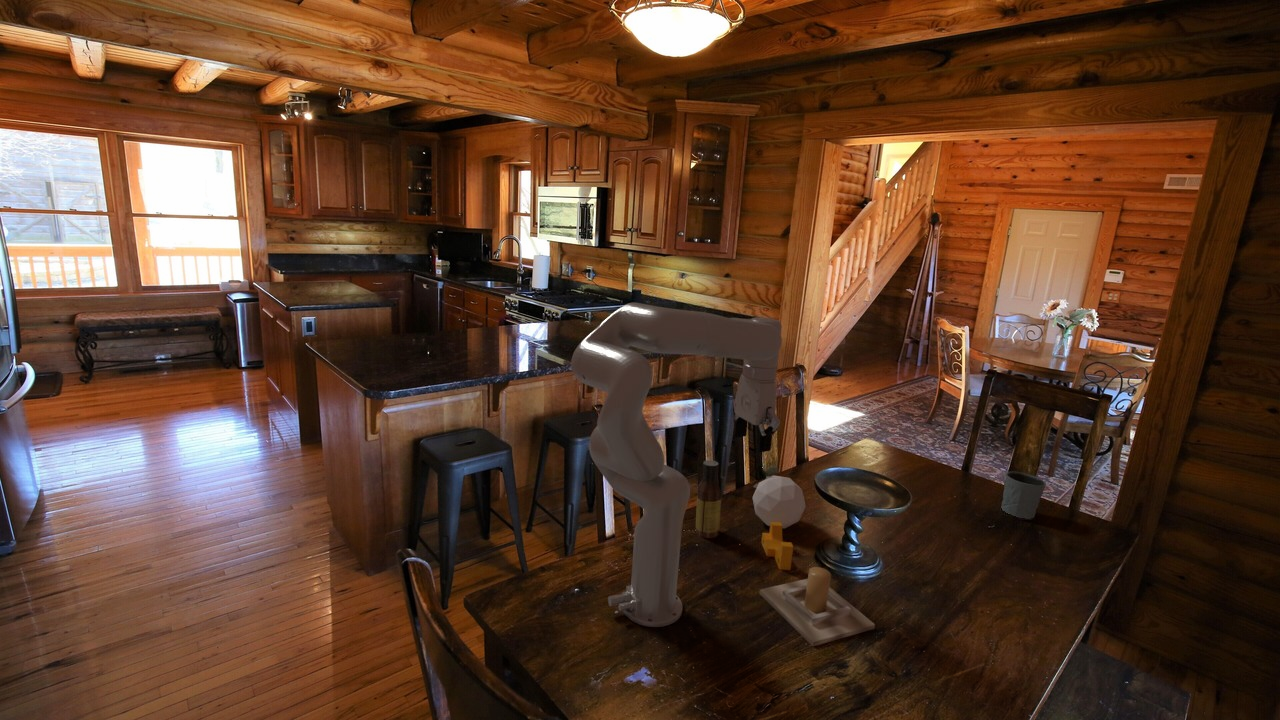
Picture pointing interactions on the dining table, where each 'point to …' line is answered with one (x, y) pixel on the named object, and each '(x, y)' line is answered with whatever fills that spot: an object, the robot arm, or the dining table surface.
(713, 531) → the sauce bottle
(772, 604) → the grey square framed plate
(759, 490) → the geodesic sphere
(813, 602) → the tan rounded oblong piece
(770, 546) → the orange blocky piece
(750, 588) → the dining table surface
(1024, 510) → the gray cup
